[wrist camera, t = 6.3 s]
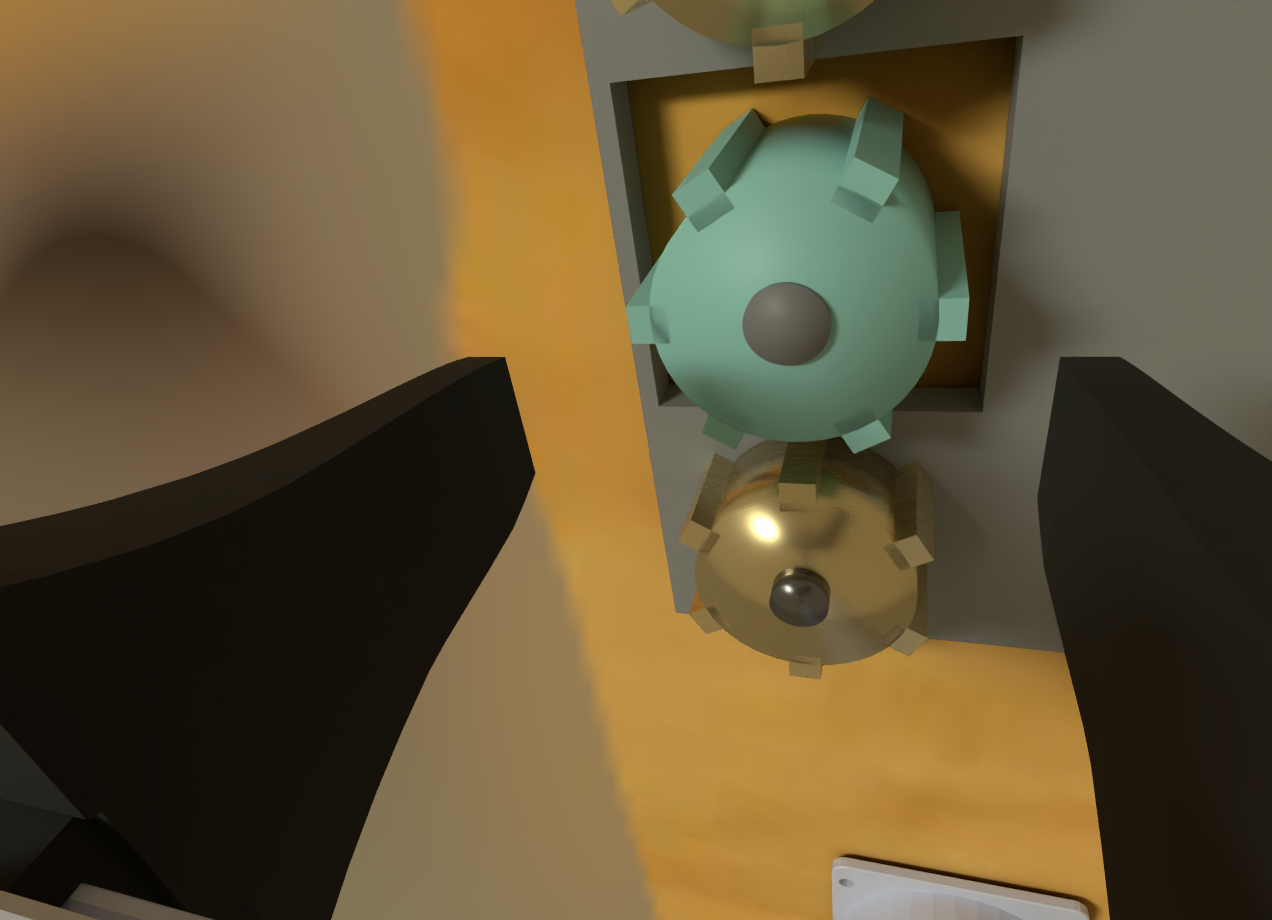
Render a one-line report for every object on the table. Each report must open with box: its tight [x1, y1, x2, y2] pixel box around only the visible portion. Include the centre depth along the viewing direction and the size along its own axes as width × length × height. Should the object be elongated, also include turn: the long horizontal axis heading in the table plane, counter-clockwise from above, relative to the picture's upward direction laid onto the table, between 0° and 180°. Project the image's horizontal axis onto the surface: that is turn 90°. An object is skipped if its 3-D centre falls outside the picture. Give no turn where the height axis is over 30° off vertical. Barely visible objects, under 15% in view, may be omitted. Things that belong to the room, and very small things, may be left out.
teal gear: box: [626, 96, 969, 454], centre depth 14 cm, size 5×5×4 cm
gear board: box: [575, 0, 1272, 679], centre depth 13 cm, size 20×15×4 cm
